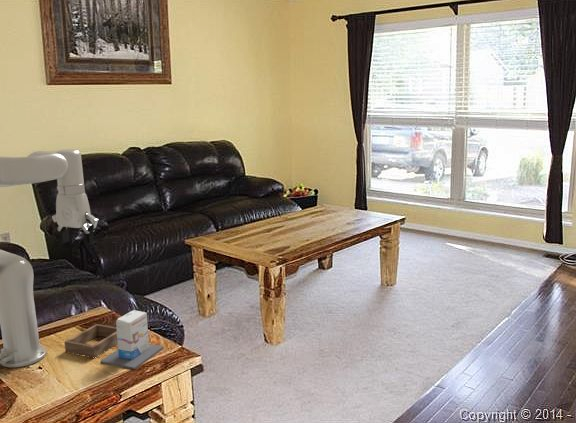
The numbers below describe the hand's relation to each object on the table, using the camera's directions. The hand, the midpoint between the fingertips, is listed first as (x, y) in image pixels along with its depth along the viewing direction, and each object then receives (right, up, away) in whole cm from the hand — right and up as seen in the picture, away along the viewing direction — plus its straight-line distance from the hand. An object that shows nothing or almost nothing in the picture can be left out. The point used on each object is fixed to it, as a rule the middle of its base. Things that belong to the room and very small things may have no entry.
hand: (77, 243), depth 174 cm
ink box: (+20, -32, -9) cm, 39 cm away
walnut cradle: (+7, -31, -2) cm, 32 cm away
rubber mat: (+20, -33, -9) cm, 39 cm away
